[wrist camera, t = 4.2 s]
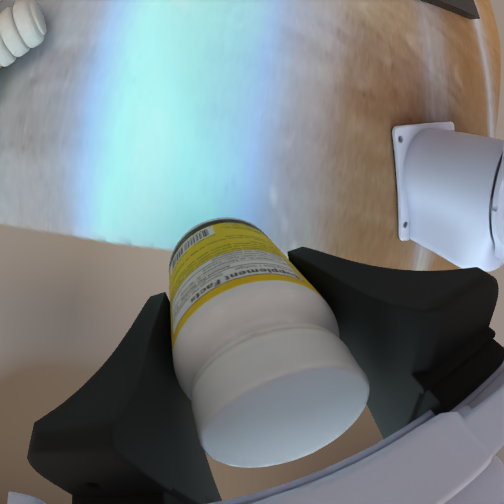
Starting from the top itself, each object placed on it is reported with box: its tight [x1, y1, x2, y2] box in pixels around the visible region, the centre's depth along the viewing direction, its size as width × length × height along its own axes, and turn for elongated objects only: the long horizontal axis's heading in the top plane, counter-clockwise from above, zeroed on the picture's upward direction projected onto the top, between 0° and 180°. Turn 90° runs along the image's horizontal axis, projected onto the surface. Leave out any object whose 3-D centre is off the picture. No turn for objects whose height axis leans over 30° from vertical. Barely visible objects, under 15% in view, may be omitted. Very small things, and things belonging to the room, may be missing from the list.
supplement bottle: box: [169, 218, 370, 467], centre depth 9 cm, size 5×5×8 cm
